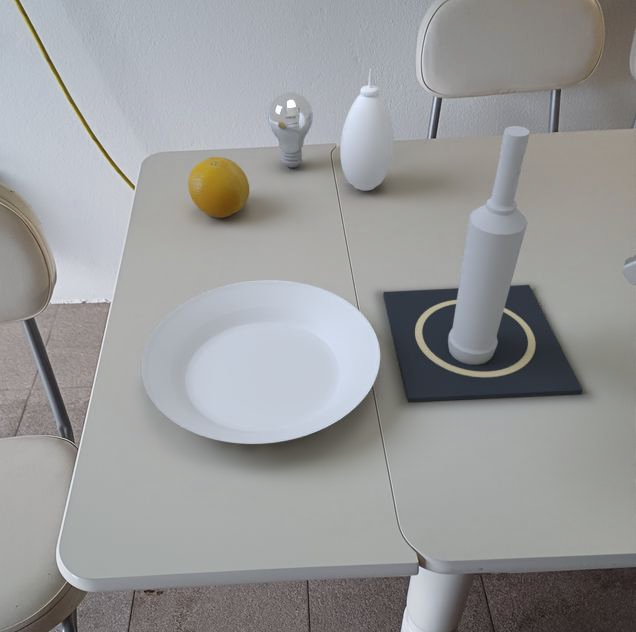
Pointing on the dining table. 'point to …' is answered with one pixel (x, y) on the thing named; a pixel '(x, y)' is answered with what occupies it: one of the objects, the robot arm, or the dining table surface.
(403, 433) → the dining table surface
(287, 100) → the light bulb
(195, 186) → the fruit
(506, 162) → the bottle
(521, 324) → the mat
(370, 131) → the sauce bottle
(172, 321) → the white plate
